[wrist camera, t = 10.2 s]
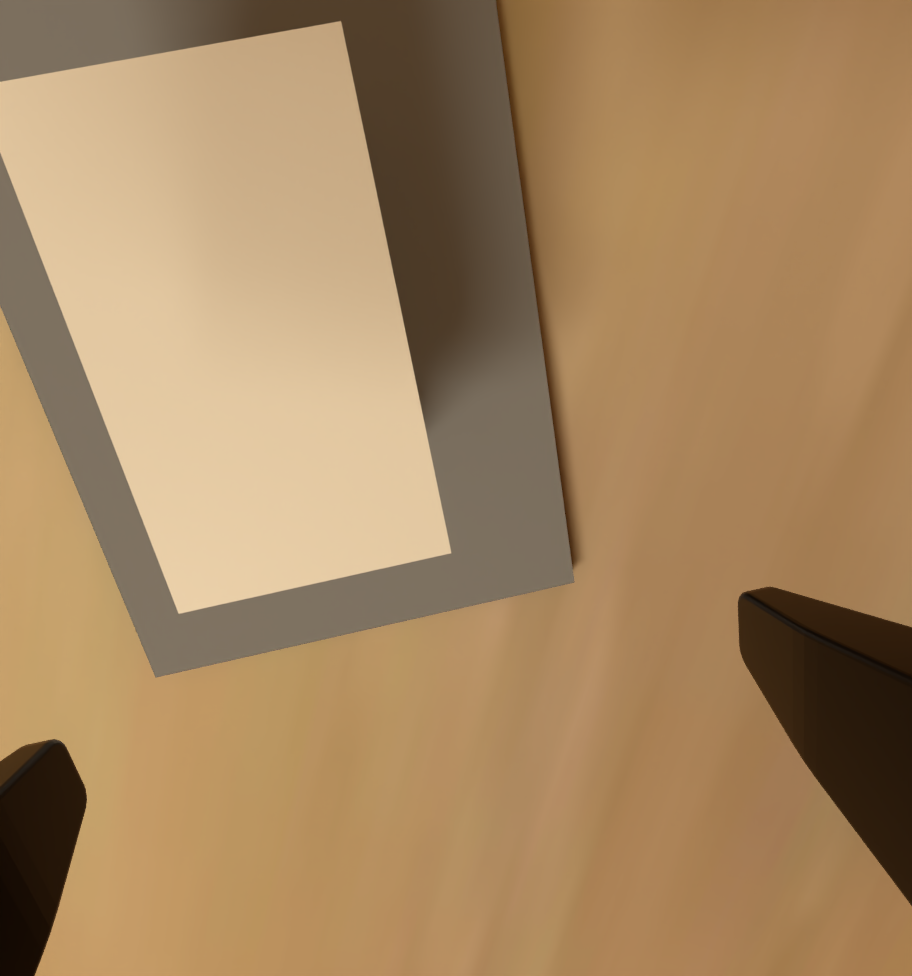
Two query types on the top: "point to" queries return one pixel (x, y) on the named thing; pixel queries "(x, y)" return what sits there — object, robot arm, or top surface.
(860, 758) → the robot arm
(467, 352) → the mat
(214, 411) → the footstool
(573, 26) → the top surface
